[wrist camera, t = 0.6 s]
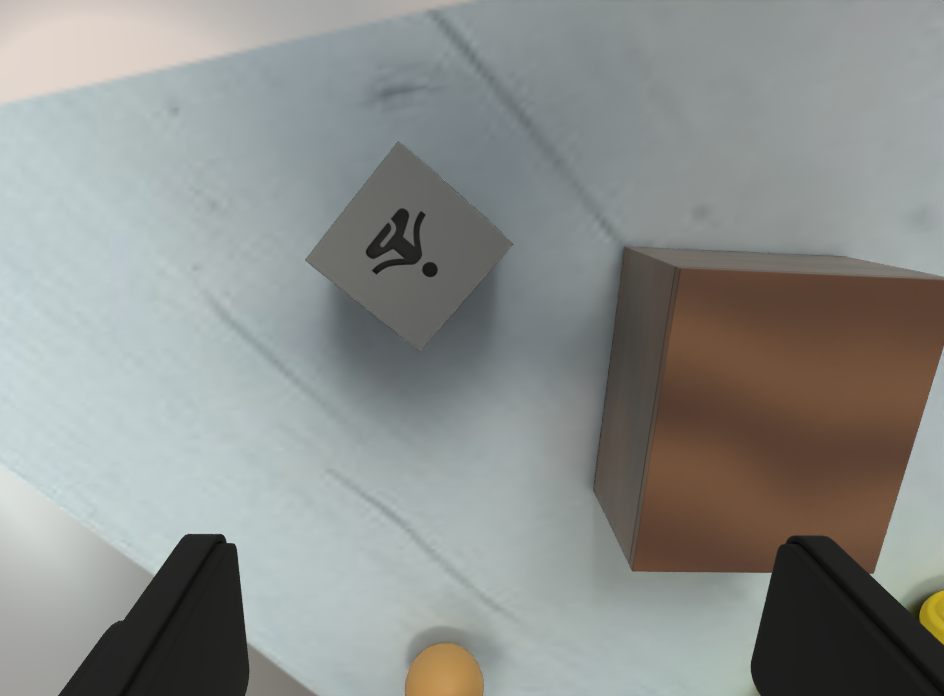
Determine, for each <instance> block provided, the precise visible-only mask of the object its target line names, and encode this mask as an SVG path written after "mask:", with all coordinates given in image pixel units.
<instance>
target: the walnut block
mask: <svg viewBox="0 0 944 696" xmlns="http://www.w3.org/2000/svg"><path fill="white" fill-rule="evenodd" d="M943 347H944V277H943V276H938V275H933V274H928V273H923V272H918V271H913V270H908V269H903V268H898V267H894V266H889V265H884V264H879V263H874V262H869V261H864V260H859V259H854V258H849V257H843V256H821V255H800V254H778V253H757V252H735V251H713V250H692V249H670V248H648V247H627V246H626V247H625V250H624V258H623V266H622V273H621V281H620V289H619V297H618V304H617V312H616V320H615V328H614V335H613V343H612V351H611V359H610V367H609V374H608V382H607V390H606V398H605V405H604V413H603V421H602V429H601V436H600V444H599V452H598V460H597V467H596V475H595V483H594V492H595V494H596V496H597V498H598V501H599V503H600V505H601V507H602V509H603V511H604V513H605V515H606V517H607V519H608V521H609V524H610V526H611V528H612V530H613V532H614V534H615V536H616V538H617V540H618V542H619V545H620V547H621V549H622V551H623V553H624V555H625V557H626V559H627V561H628V563H629V565H630V568H631V570H632V571H646V572H749V573H772V571H773V567H774V562H775V558H776V554H777V550H778V548H779V547H780V545H782V544H785V543H786V541H787V539H788V538H789V537H790V536H794V535H824V536H828V537H830V538H831V539H832V540H834V541H835V542H836V543H837V544H838V545H839V546H840V547H841V548H842V549H843V550H844V551H845V552H846V553H847V554H848V555H850V556H851V557H852V558H853V559H854V560H855V561H856V562H857V563H858V564H859V565H860V566H861V567H862V568H863V569H864V570H865V571H866V572H867V573H868V574H873V573H874V571H875V567H876V564H877V561H878V558H879V554H880V551H881V548H882V545H883V541H884V538H885V535H886V532H887V528H888V525H889V522H890V519H891V515H892V512H893V509H894V506H895V502H896V499H897V496H898V493H899V489H900V486H901V483H902V480H903V476H904V473H905V470H906V467H907V463H908V460H909V457H910V454H911V451H912V447H913V444H914V441H915V438H916V434H917V431H918V428H919V425H920V421H921V418H922V415H923V412H924V408H925V405H926V402H927V399H928V395H929V392H930V389H931V386H932V382H933V379H934V376H935V373H936V369H937V366H938V363H939V360H940V356H941V353H942V350H943Z"/></svg>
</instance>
